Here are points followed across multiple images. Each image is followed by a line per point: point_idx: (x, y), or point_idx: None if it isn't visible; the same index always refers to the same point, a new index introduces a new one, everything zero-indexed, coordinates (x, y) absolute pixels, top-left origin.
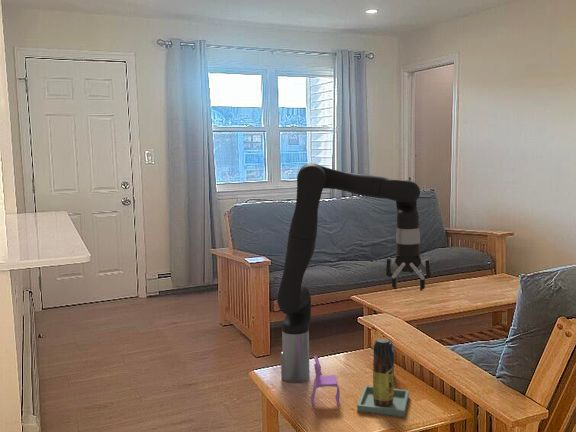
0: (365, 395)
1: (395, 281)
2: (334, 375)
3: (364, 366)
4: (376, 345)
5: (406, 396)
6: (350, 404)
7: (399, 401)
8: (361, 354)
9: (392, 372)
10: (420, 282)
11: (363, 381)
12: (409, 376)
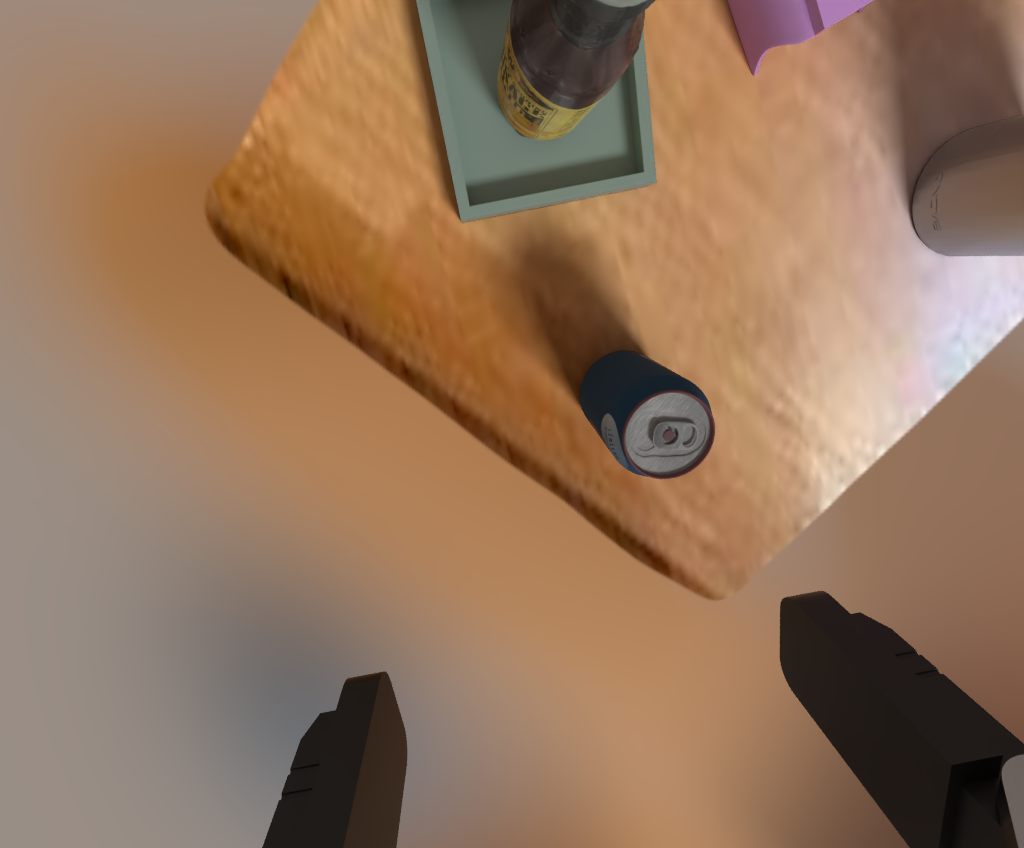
0: (633, 126)
1: (903, 703)
2: (827, 21)
3: None
4: (697, 395)
5: (450, 150)
6: (674, 26)
7: (479, 142)
8: (750, 535)
9: (507, 29)
10: (341, 815)
11: (679, 289)
12: (516, 419)
